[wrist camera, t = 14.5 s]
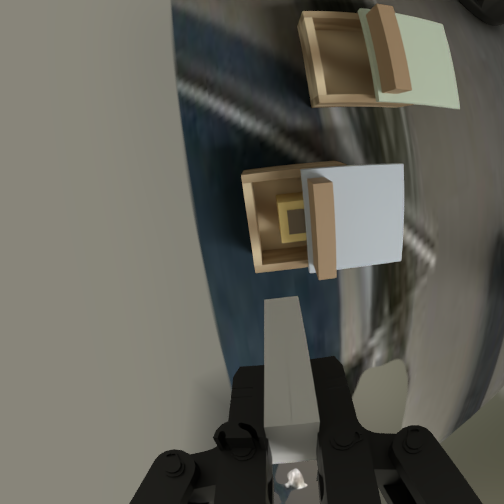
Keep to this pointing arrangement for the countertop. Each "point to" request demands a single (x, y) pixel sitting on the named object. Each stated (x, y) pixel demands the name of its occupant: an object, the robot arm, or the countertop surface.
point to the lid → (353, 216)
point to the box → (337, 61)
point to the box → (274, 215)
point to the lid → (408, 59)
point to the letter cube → (291, 217)
